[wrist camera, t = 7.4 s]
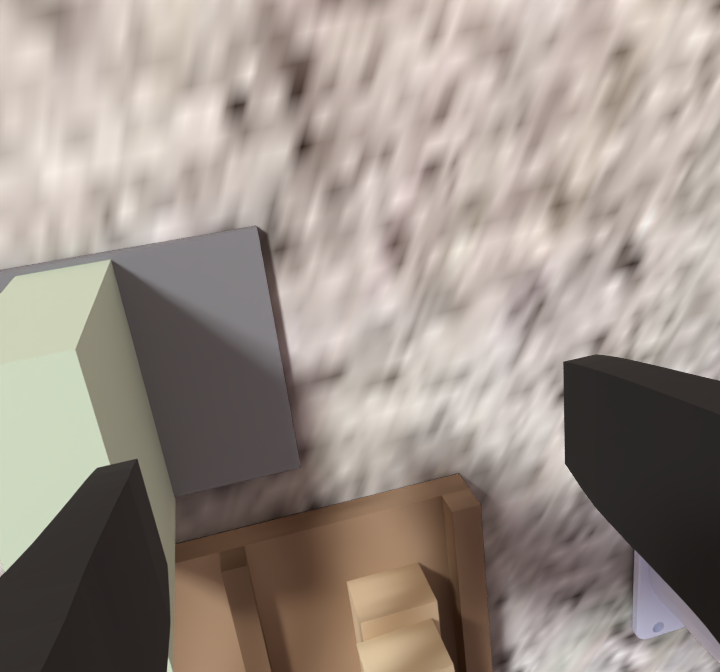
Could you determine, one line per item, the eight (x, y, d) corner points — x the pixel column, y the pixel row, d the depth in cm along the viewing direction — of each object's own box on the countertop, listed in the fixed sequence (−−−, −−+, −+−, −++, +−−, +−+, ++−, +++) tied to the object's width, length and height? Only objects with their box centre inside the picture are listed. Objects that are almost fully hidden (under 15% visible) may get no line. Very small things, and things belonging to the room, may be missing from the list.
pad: (256, 225, 20) (257, 228, 20) (298, 461, 23) (301, 467, 23) (-119, 290, 18) (-126, 295, 18) (-20, 536, 21) (-24, 544, 21)
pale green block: (111, 259, 19) (75, 349, 13) (175, 501, 22) (173, 673, 16) (15, 276, 19) (-73, 378, 12) (94, 521, 22) (58, 706, 15)
